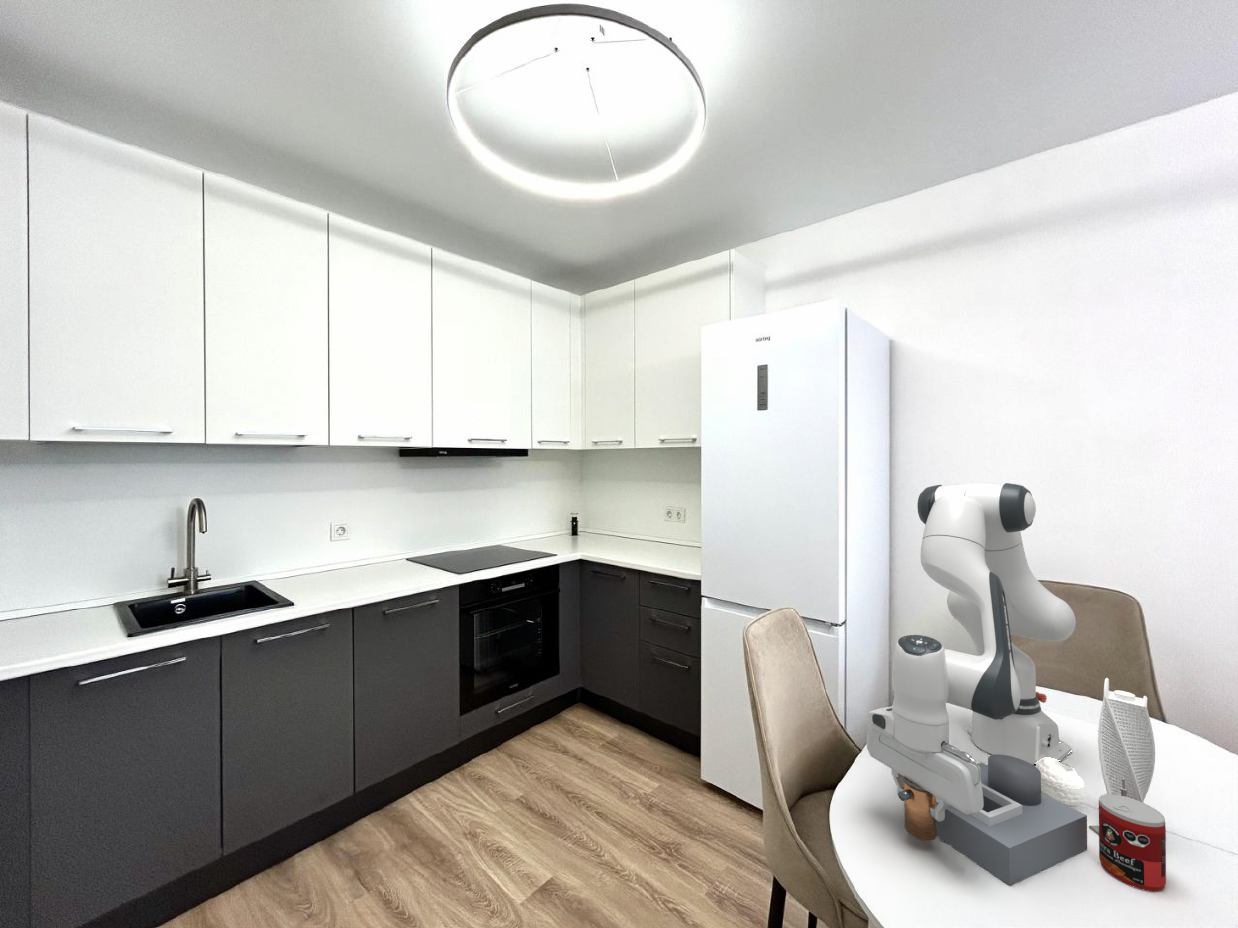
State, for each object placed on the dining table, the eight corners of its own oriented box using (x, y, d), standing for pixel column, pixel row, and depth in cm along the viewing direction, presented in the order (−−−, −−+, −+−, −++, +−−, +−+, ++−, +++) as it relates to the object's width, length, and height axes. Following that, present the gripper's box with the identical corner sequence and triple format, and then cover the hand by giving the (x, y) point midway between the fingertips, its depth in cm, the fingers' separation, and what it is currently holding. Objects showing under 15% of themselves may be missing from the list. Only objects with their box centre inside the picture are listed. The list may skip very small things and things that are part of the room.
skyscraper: (1082, 822, 98) (1081, 675, 98) (1125, 823, 97) (1124, 676, 98) (1124, 854, 89) (1122, 693, 90) (1172, 856, 89) (1170, 695, 90)
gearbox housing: (981, 791, 107) (981, 738, 107) (1087, 849, 90) (1086, 786, 91) (908, 816, 99) (908, 758, 99) (1009, 885, 82) (1009, 816, 82)
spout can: (917, 817, 95) (916, 769, 95) (944, 836, 90) (943, 784, 90) (888, 828, 92) (888, 777, 92) (915, 847, 87) (915, 794, 87)
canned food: (1086, 858, 88) (1086, 793, 89) (1128, 856, 89) (1128, 792, 89) (1134, 894, 81) (1134, 823, 81) (1180, 891, 81) (1179, 821, 82)
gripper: (992, 755, 83) (992, 841, 83) (884, 703, 102) (884, 772, 102) (966, 764, 81) (967, 851, 81) (861, 708, 100) (861, 779, 100)
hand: (920, 807), depth 91 cm, fingers closed on spout can, 5 cm apart
